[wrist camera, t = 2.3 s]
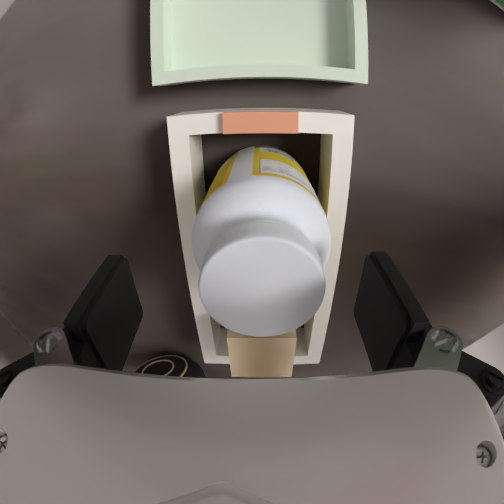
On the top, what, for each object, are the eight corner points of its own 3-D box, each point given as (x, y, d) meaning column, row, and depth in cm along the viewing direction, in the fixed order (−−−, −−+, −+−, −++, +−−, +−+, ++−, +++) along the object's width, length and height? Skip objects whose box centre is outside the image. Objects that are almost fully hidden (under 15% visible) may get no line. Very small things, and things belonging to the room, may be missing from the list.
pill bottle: (216, 226, 22) (181, 346, 12) (215, 141, 19) (162, 207, 9) (302, 231, 22) (329, 353, 12) (312, 146, 19) (367, 218, 9)
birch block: (289, 274, 24) (296, 337, 18) (286, 314, 27) (291, 376, 21) (234, 274, 24) (226, 337, 19) (237, 314, 27) (231, 376, 21)
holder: (339, 110, 17) (356, 116, 14) (314, 335, 28) (319, 366, 25) (182, 111, 18) (164, 117, 14) (209, 335, 28) (203, 366, 25)
